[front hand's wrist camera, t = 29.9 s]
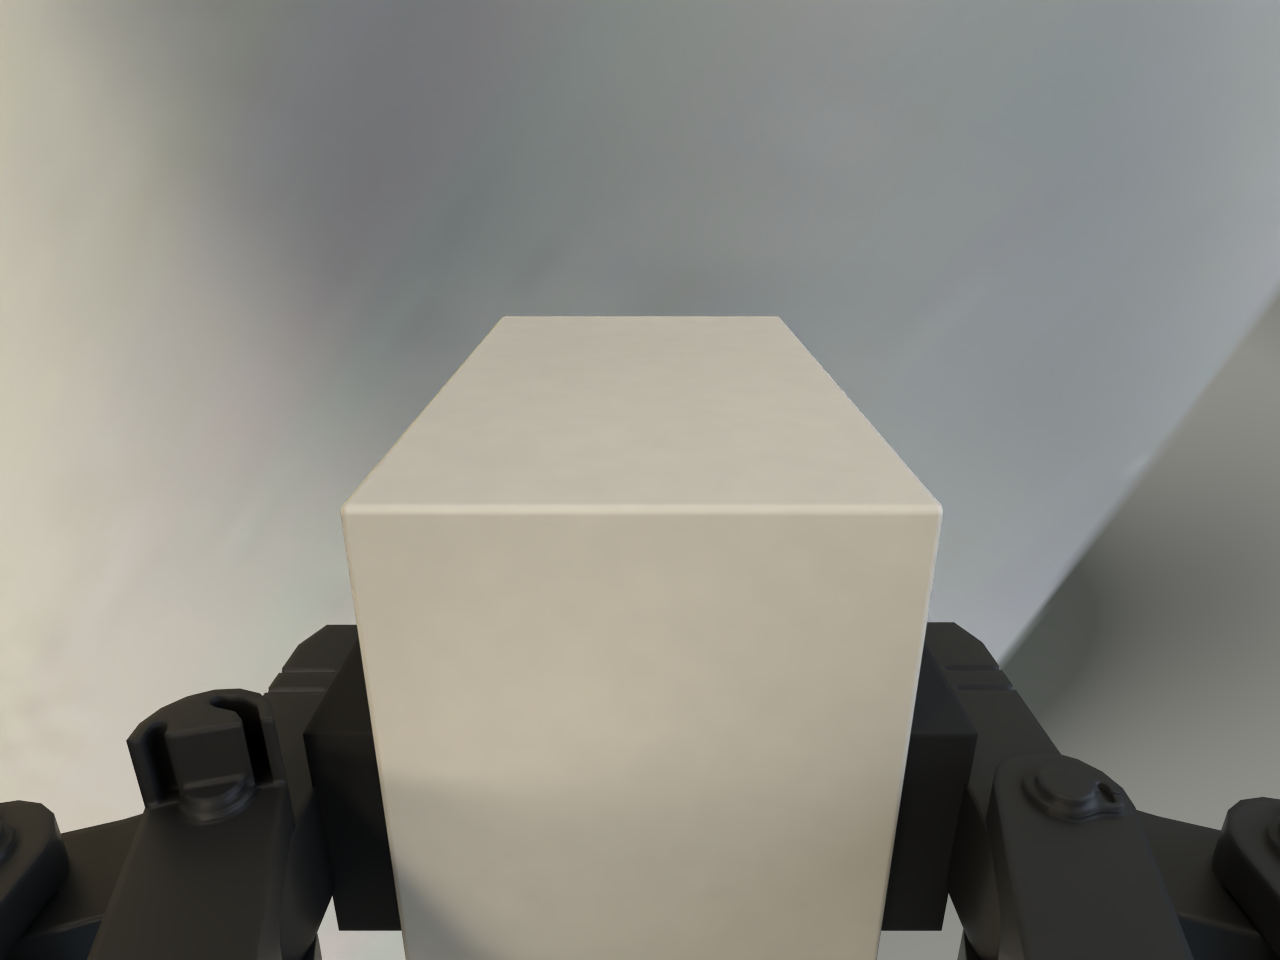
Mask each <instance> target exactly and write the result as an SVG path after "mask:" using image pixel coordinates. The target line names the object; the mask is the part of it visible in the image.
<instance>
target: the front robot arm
mask: <svg viewBox="0 0 1280 960" xmlns="http://www.w3.org/2000/svg"><path fill="white" fill-rule="evenodd" d="M126 741H127V745H128V748H129V752H130V756H131V759H132V763H133V766H134V770H135V773H136V777H137V780H138V784H139V787H140V791H141V794H142V798H143V801H144V805H145V810H144V812H143V814H140V815H137V816H134V817H130V818H127V819H123V820H119V821H115V822H110V823H106V824H101V825H97V826H93V827H88V828H84V829H79V830H75V831H70V832H66V833H62V834H61V833H60V831H59V828H58V825H57V822H56V819H55V816H54V813H52V812H51V811H50V810H49V809H47V808H46V807H45V806H44V805H42V804H41V803H34V802H27V801H20V800H18V801H11V802H4V803H0V960H322V956H321V950H320V944H319V939H318V934H317V931H318V929H319V926H320V924H321V922H322V919H323V917H324V914H325V912H326V910H327V907H328V905H329V902H330V900H331V897H332V895H333V901H334V906H335V911H336V917H337V922H338V928H339V931H402V929H401V923H400V916H399V909H398V902H397V895H396V888H395V882H394V875H393V868H392V861H391V854H390V847H389V841H388V834H387V827H386V820H385V813H384V806H383V800H382V793H381V786H380V779H379V772H378V765H377V759H376V752H375V745H374V738H373V731H372V724H371V718H370V711H369V704H368V697H367V690H366V683H365V677H364V670H363V663H362V656H361V649H360V642H359V636H358V629H357V625H326V626H325V627H323V628H322V629H320V630H319V631H318V632H316V633H315V634H313V635H312V636H310V637H309V638H308V639H306V640H305V641H303V642H302V643H301V644H299V645H298V646H297V648H296V649H295V651H294V652H293V654H292V655H291V656H290V658H289V659H288V661H287V662H286V664H285V665H284V667H283V668H282V673H279V674H278V675H277V677H276V678H275V679H274V681H273V682H272V684H271V685H270V687H269V692H268V693H265V694H264V695H263V696H262V695H261V694H260V693H256V692H252V691H248V690H243V689H220V690H211V691H207V692H203V693H199V694H195V695H191V696H187V697H185V698H183V699H180V700H178V701H176V702H174V703H171V704H169V705H167V706H165V707H162V708H160V709H159V710H158V711H156V712H155V713H154V714H152V715H151V716H149V717H148V718H147V719H145V720H144V721H142V722H141V723H140V724H139V725H138V726H137V727H136V729H135V730H134V731H133V733H132V734H131V735H130V737H129V738H128V739H127V740H126ZM948 893H949V895H950V897H951V899H952V902H953V904H954V907H955V909H956V911H957V914H958V916H959V919H960V921H961V923H962V926H963V928H964V929H963V934H962V939H961V944H960V949H959V954H958V959H957V960H1280V799H1273V798H1266V797H1260V798H1252V799H1245V800H1240V801H1239V802H1238V803H1236V804H1235V805H1234V806H1233V807H1232V808H1230V809H1229V810H1228V812H1227V815H1226V818H1225V821H1224V824H1223V827H1222V830H1216V829H1212V828H1207V827H1203V826H1198V825H1194V824H1190V823H1185V822H1181V821H1176V820H1172V819H1167V818H1163V817H1159V816H1155V815H1152V814H1148V813H1145V812H1142V811H1138V810H1136V808H1135V806H1134V805H1133V803H1132V802H1131V800H1130V799H1129V797H1128V796H1127V794H1126V793H1125V791H1124V790H1123V788H1122V787H1120V786H1119V785H1118V784H1117V783H1116V782H1114V781H1113V780H1112V779H1111V778H1109V777H1108V776H1107V775H1106V774H1104V773H1103V772H1102V771H1100V770H1098V769H1096V768H1094V767H1092V766H1090V765H1088V764H1086V763H1084V762H1082V761H1080V760H1078V759H1075V758H1071V757H1068V756H1064V755H1061V754H1060V752H1059V751H1058V750H1057V748H1056V747H1055V745H1054V744H1053V742H1052V741H1051V740H1050V738H1049V737H1048V735H1047V734H1046V732H1045V731H1044V730H1043V728H1042V727H1041V725H1040V724H1039V723H1038V721H1037V720H1036V718H1035V717H1034V715H1033V714H1032V712H1031V711H1030V710H1029V708H1028V707H1027V705H1026V704H1025V702H1024V701H1023V700H1022V698H1021V697H1020V695H1019V694H1018V693H1017V691H1016V690H1013V689H1012V684H1011V682H1010V681H1009V680H1008V678H1007V677H1006V675H1005V674H1004V673H1003V671H1002V670H999V665H998V664H997V662H996V661H995V660H994V658H993V657H992V655H991V654H990V653H989V651H988V650H987V648H986V647H985V645H984V644H983V643H982V642H981V641H980V640H978V639H977V638H975V637H974V636H973V635H971V634H970V633H968V632H967V631H965V630H964V629H963V628H961V627H960V626H958V625H957V624H955V623H954V622H927V626H926V632H925V639H924V646H923V653H922V659H921V666H920V673H919V679H918V686H917V693H916V700H915V706H914V713H913V720H912V726H911V733H910V740H909V746H908V753H907V760H906V767H905V773H904V780H903V787H902V793H901V800H900V807H899V813H898V820H897V827H896V834H895V840H894V847H893V854H892V860H891V867H890V874H889V881H888V887H887V894H886V901H885V907H884V914H883V921H882V927H881V931H941V930H942V925H943V919H944V914H945V909H946V903H947V898H948Z"/></svg>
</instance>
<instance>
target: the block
mask: <svg viewBox="0 0 1280 960" xmlns="http://www.w3.org/2000/svg"><path fill="white" fill-rule="evenodd" d="M340 513H341V519H342V526H343V533H344V540H345V547H346V554H347V560H348V567H349V574H350V581H351V588H352V595H353V601H354V608H355V615H356V622H357V629H358V636H359V642H360V649H361V656H362V663H363V670H364V677H365V683H366V690H367V697H368V704H369V711H370V718H371V724H372V731H373V738H374V745H375V752H376V759H377V765H378V772H379V779H380V786H381V793H382V800H383V806H384V813H385V820H386V827H387V834H388V841H389V847H390V854H391V861H392V868H393V875H394V882H395V888H396V895H397V902H398V909H399V916H400V923H401V929H402V936H403V943H404V950H405V957H406V960H877V954H878V948H879V941H880V934H881V927H882V921H883V914H884V907H885V901H886V894H887V887H888V881H889V874H890V867H891V860H892V854H893V847H894V840H895V834H896V827H897V820H898V813H899V807H900V800H901V793H902V787H903V780H904V773H905V767H906V760H907V753H908V746H909V740H910V733H911V726H912V720H913V713H914V706H915V700H916V693H917V686H918V679H919V673H920V666H921V659H922V653H923V646H924V639H925V632H926V626H927V619H928V612H929V606H930V599H931V592H932V586H933V579H934V572H935V565H936V559H937V552H938V545H939V539H940V532H941V525H942V519H943V509H942V506H941V504H940V503H939V502H938V501H937V500H936V499H935V497H934V496H933V495H932V494H931V493H930V492H929V490H928V489H927V488H926V487H925V486H924V485H923V483H922V482H921V481H920V480H919V479H918V478H917V476H916V475H915V474H914V473H913V472H912V471H911V470H910V468H909V467H908V466H907V465H906V464H905V463H904V461H903V460H902V459H901V458H900V457H899V456H898V454H897V453H896V452H895V451H894V450H893V449H892V447H891V446H890V445H889V444H888V443H887V442H886V441H885V439H884V438H883V437H882V436H881V435H880V434H879V432H878V431H877V430H876V429H875V428H874V427H873V425H872V424H871V423H870V422H869V421H868V420H867V418H866V417H865V416H864V415H863V414H862V413H861V411H860V410H859V409H858V408H857V407H856V406H855V405H854V403H853V402H852V401H851V400H850V399H849V398H848V396H847V395H846V394H845V393H844V392H843V391H842V389H841V388H840V387H839V386H838V385H837V384H836V382H835V381H834V380H833V379H832V378H831V377H830V375H829V374H828V373H827V372H826V371H825V370H824V369H823V367H822V366H821V365H820V364H819V363H818V362H817V360H816V359H815V358H814V357H813V356H812V355H811V353H810V352H809V351H808V350H807V349H806V348H805V346H804V345H803V344H802V343H801V342H800V341H799V340H798V338H797V337H796V336H795V335H794V334H793V333H792V331H791V330H790V329H789V328H788V327H787V326H786V324H785V323H784V322H783V321H782V320H781V319H780V318H779V317H777V316H504V317H502V318H501V319H500V320H499V321H498V322H497V324H496V325H495V326H494V327H493V328H492V330H491V331H490V332H489V333H488V334H487V335H486V337H485V338H484V339H483V340H482V341H481V343H480V344H479V345H478V346H477V347H476V348H475V350H474V351H473V352H472V353H471V354H470V355H469V357H468V358H467V359H466V360H465V361H464V363H463V364H462V365H461V366H460V367H459V368H458V370H457V371H456V372H455V373H454V374H453V376H452V377H451V378H450V379H449V380H448V381H447V383H446V384H445V385H444V386H443V387H442V389H441V390H440V391H439V392H438V393H437V394H436V396H435V397H434V398H433V399H432V400H431V401H430V403H429V404H428V405H427V406H426V407H425V409H424V410H423V411H422V412H421V413H420V414H419V416H418V417H417V418H416V419H415V420H414V422H413V423H412V424H411V425H410V426H409V427H408V429H407V430H406V431H405V432H404V433H403V435H402V436H401V437H400V438H399V439H398V440H397V442H396V443H395V444H394V445H393V446H392V447H391V449H390V450H389V451H388V452H387V453H386V455H385V456H384V457H383V458H382V459H381V460H380V462H379V463H378V464H377V465H376V466H375V468H374V469H373V470H372V471H371V472H370V473H369V475H368V476H367V477H366V478H365V479H364V481H363V482H362V483H361V484H360V485H359V486H358V488H357V489H356V490H355V491H354V492H353V494H352V495H351V496H350V497H349V498H348V499H347V501H346V502H345V503H344V504H343V505H342V508H341V512H340Z"/></svg>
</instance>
